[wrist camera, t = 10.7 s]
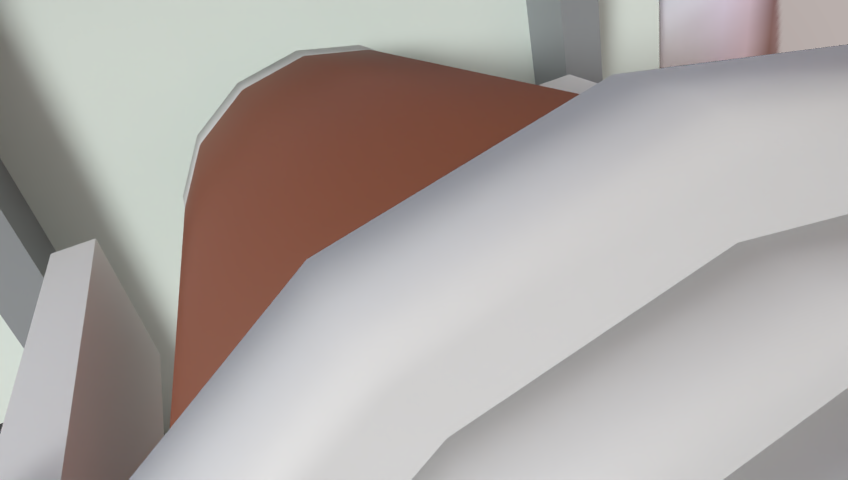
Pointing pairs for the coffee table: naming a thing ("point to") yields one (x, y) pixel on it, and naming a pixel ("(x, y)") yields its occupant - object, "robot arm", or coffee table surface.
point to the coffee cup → (515, 275)
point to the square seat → (197, 102)
